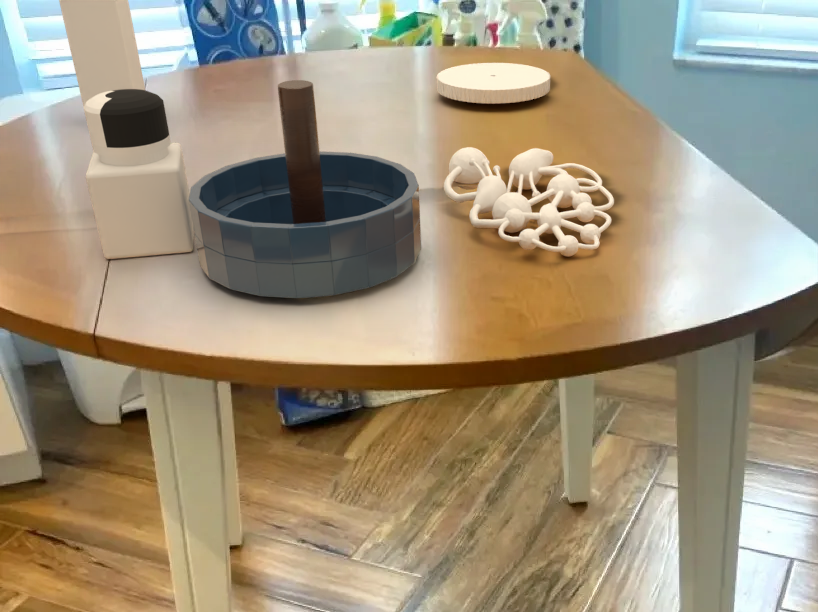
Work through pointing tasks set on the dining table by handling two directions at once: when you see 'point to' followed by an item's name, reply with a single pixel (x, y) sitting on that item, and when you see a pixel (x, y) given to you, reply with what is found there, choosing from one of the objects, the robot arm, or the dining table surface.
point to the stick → (302, 151)
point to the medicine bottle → (136, 177)
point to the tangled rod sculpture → (516, 209)
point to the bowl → (306, 227)
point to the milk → (102, 46)
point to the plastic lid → (493, 83)
